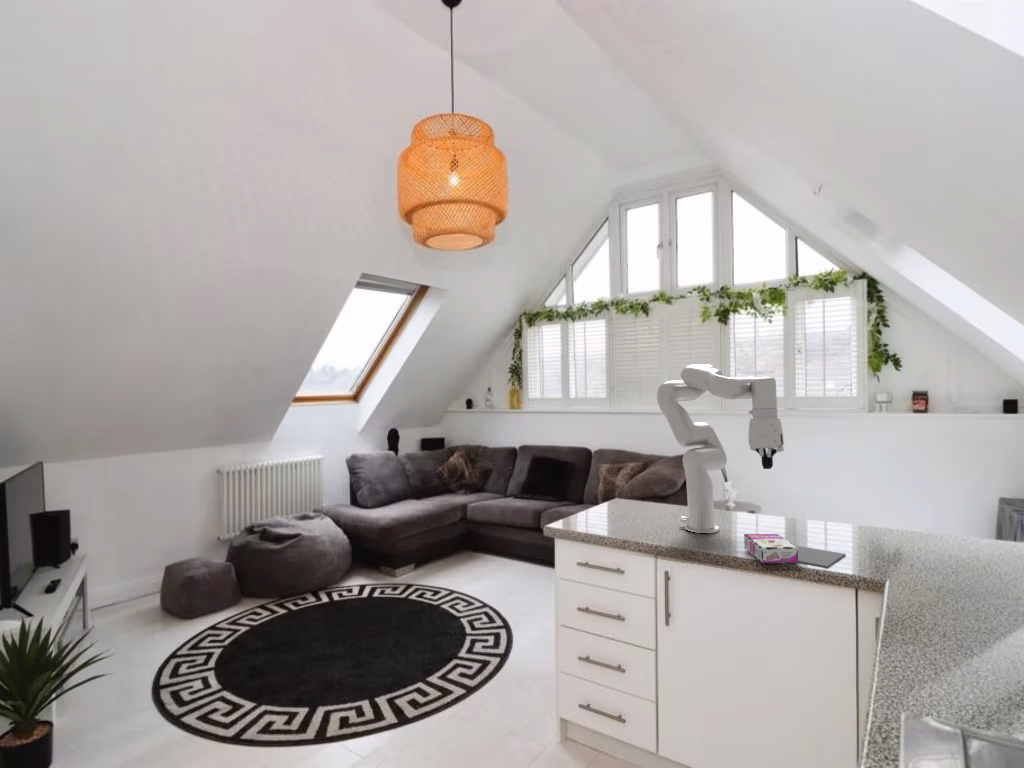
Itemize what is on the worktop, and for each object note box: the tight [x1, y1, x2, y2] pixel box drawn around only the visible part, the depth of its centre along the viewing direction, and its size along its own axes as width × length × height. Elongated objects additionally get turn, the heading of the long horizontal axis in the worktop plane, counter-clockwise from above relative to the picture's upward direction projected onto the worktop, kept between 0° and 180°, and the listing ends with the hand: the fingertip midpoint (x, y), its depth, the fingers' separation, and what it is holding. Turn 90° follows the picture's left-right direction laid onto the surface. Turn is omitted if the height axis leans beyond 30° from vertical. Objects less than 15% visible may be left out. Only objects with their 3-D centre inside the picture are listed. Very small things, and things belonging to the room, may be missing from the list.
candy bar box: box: [743, 533, 798, 564], centre depth 180 cm, size 11×5×16 cm
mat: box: [793, 544, 846, 569], centre depth 180 cm, size 20×16×1 cm
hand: (767, 468), depth 188 cm, fingers closed
